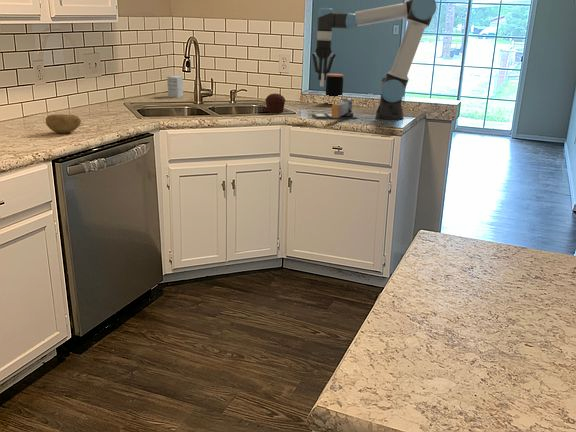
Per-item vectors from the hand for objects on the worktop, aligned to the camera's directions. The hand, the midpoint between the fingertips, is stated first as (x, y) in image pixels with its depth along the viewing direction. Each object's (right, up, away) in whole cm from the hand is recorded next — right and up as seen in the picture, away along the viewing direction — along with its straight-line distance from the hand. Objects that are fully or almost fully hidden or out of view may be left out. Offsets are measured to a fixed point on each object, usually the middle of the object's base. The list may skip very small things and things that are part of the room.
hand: (321, 86), depth 306 cm
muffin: (-25, -11, +18) cm, 33 cm away
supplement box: (-90, +7, +64) cm, 110 cm away
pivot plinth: (+14, -15, +8) cm, 22 cm away
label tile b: (-1, -16, +5) cm, 16 cm away
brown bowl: (-114, -33, -58) cm, 132 cm away
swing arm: (+11, -15, -1) cm, 18 cm away
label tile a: (+6, -15, +7) cm, 18 cm away
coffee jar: (+11, +2, +59) cm, 60 cm away
